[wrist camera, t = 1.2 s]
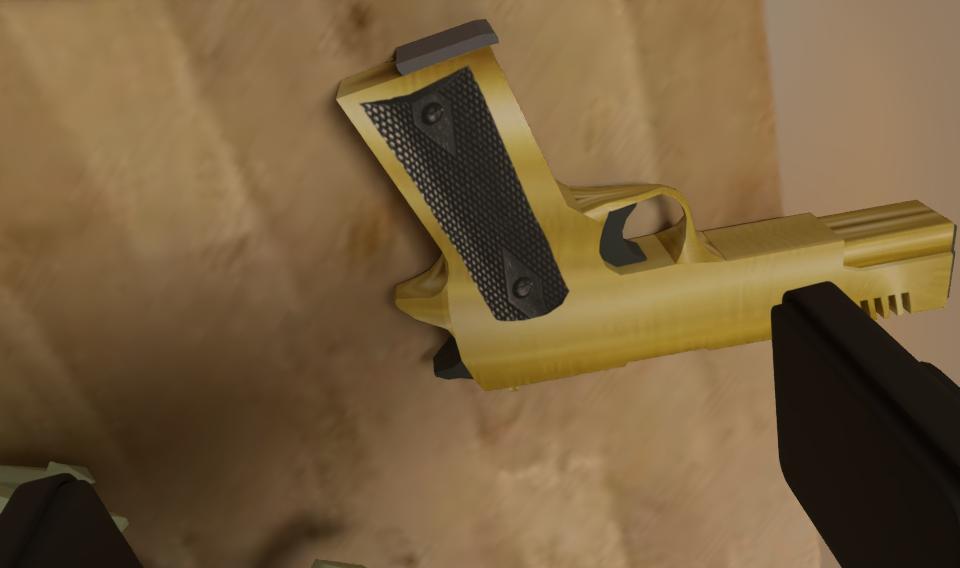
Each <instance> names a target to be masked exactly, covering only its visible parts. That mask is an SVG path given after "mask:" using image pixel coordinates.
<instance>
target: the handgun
mask: <svg viewBox="0 0 960 568" xmlns="http://www.w3.org/2000/svg"><path fill="white" fill-rule="evenodd" d="M496 43H499V41H498V37H497V35H496V34H495V32H494V31H493V29H492V28H491V26H490V24H489V23H488V22H487V20H486V19H484V20H475V21H472V22H469V23H466V24H463V25H460V26H457V27H454V28H451V29H449V30H446V31H443V32H440V33H437V34H434V35H431V36H429V37H426V38H423V39H420V40H417V41H414V42H411V43H408V44H406V45H403V46H400V47H397V48H396V61H393V62H390V63H387V64H385V65H382V66H379V67H376V68H373V69H371V70H368V71H365V72H362V73H359V74H357V75H354V76H351V77H348V78H345V79H343V80H341V84H340V87H339V90H338V94H337V97H336V100H337V101H338V103H339V104H340V106H341V107H342V109H343V110H344V111H345V113H346V114H347V116H348V117H349V119H350V120H351V121H352V123H353V124H354V126H355V127H356V129H357V130H358V131H359V133H360V134H361V136H362V137H363V139H364V140H365V141H366V143H367V144H368V146H369V147H370V149H371V150H372V151H373V153H374V154H375V156H376V157H377V159H378V160H379V161H380V163H381V164H382V166H383V167H384V169H385V170H386V171H387V173H388V174H389V176H390V177H391V179H392V180H393V181H394V183H395V184H396V186H397V187H398V189H399V190H400V192H401V193H402V194H403V196H404V197H405V199H406V200H407V202H408V203H409V204H410V206H411V207H412V209H413V210H414V212H415V213H416V214H417V216H418V217H419V219H420V220H421V222H422V223H423V224H424V226H425V227H426V229H427V230H428V232H429V233H430V234H431V236H432V237H433V239H434V240H435V242H436V243H437V244H438V246H439V247H440V249H441V251H442V252H443V253H442V254H441V256H440V258H439V259H438V260H437V262H436V263H435V264H434V265H433V266H432V267H431V269H430V270H429V271H427V272H425V273H423V274H421V275H420V276H418V277H416V278H413V279H411V280H409V281H406V282H404V283H401V284H399V285H397V286H396V287H395V291H394V299H395V303H396V305H397V307H398V308H399V309H400V310H402V311H403V312H405V313H407V314H408V315H410V316H412V317H413V318H415V319H417V320H419V321H423V322H426V323H429V324H433V325H436V326H439V327H442V328H445V329H447V330H448V331H449V332H450V333H451V334H452V335H451V337H450V338H449V339H448V340H447V341H446V343H445V344H444V345H443V346H442V347H441V349H440V350H439V351H438V353H437V354H436V355H435V356H434V358H433V363H434V374H435V376H436V377H440V378H444V379H448V380H449V379H455V378H466V379H474V380H475V381H476V382H477V383H478V384H479V385H480V386H481V387H482V388H483V389H484V390H485V391H490V390H497V389H504V388H508V389H509V390H510V391H511V392H514V391H518V390H519V388H520V386H521V385H527V384H532V383H538V382H543V381H548V380H554V379H559V378H565V377H570V376H576V375H581V374H586V373H592V372H597V371H603V370H608V369H614V368H619V367H624V366H626V364H627V363H628V362H633V361H638V360H643V359H649V358H654V357H660V356H665V355H671V354H676V353H682V352H687V351H693V350H698V349H709V350H715V349H721V348H726V347H732V346H737V345H743V344H748V343H754V342H759V341H765V340H770V339H772V331H771V309H772V307H773V306H774V305H778V304H782V297H783V294H784V293H785V292H786V291H789V290H793V289H797V288H801V287H805V286H809V285H813V284H817V283H820V282H824V281H831V282H832V283H834V284H835V285H836V286H838V287H839V288H840V289H841V290H842V291H843V292H844V293H845V294H846V295H847V296H848V297H849V298H850V299H852V300H853V301H854V302H855V303H856V304H857V305H858V306H859V307H860V308H861V309H862V310H863V311H865V312H866V313H867V314H868V315H869V316H870V317H871V318H872V319H873V320H877V316H876V312H877V313H879V314H880V315H881V316H882V317H883V318H889V317H890V312H889V309H890V310H892V311H893V312H894V313H895V314H896V315H897V316H901V315H904V314H903V308H904V309H906V310H907V311H908V312H909V313H917V312H923V311H928V310H934V309H939V308H944V306H945V305H946V302H947V299H948V297H949V292H950V286H951V279H952V272H953V264H954V257H955V251H954V245H955V238H956V231H957V226H956V225H955V224H954V223H953V222H952V221H950V220H949V219H947V218H945V217H944V216H942V215H941V214H939V213H937V212H936V211H934V210H932V209H931V208H929V207H927V206H926V205H924V204H923V203H921V202H919V201H918V200H913V201H907V202H902V203H896V204H891V205H885V206H879V207H874V208H868V209H862V210H857V211H851V212H845V213H840V214H834V215H829V216H823V217H815V216H814V215H813V214H811V213H805V214H799V215H793V216H787V217H782V218H776V219H770V220H765V221H759V222H753V223H748V224H742V225H736V226H731V227H725V228H719V229H714V230H708V231H703V232H701V231H695V228H694V225H693V221H692V218H691V211H690V206H689V204H688V202H687V200H686V198H685V197H684V196H683V195H682V194H681V193H680V192H679V191H677V190H676V189H674V188H671V187H668V186H665V185H662V184H648V185H626V186H614V187H602V188H587V187H568V186H566V185H564V184H562V183H560V182H558V181H556V180H555V179H554V177H553V175H552V173H551V171H550V169H549V167H548V165H547V163H546V161H545V159H544V157H543V155H542V153H541V151H540V149H539V147H538V144H537V142H536V140H535V138H534V136H533V134H532V132H531V130H530V128H529V126H528V124H527V122H526V120H525V118H524V116H523V114H522V112H521V109H520V107H519V105H518V103H517V101H516V99H515V97H514V95H513V93H512V91H511V89H510V87H509V85H508V83H507V81H506V79H505V77H504V75H503V72H502V70H501V68H500V66H499V64H498V62H497V60H496V58H495V56H494V54H493V52H492V50H491V48H490V46H489V45H492V44H496ZM661 193H662V194H666V195H669V196H672V197H675V198H676V199H677V200H678V202H679V203H680V204H681V205H682V209H683V212H684V216H683V217H682V218H681V219H680V221H679V222H678V223H677V224H676V225H675V226H674V227H672V228H669V229H667V230H665V231H662V232H659V233H656V234H653V235H648V236H644V237H639V238H634V239H630V240H626V239H623V234H622V230H623V227H624V224H625V221H626V218H627V217H628V216H629V215H630V213H631V212H632V211H633V209H634V208H635V207H636V205H637V202H640V201H643V200H645V199H648V198H651V197H653V196H656V195H659V194H661Z"/></svg>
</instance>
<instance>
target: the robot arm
mask: <svg viewBox="0 0 960 568" xmlns="http://www.w3.org/2000/svg"><path fill="white" fill-rule="evenodd" d="M771 331H772V348H773V365H774V382H775V399H776V415H777V432H778V449H779V461H780V465H781V469H782V472H783V475H784V477H785V480H786V482H787V484H788V485H789V487H790V489H791V490H792V492H793V493H794V495H795V496H796V498H797V499H798V501H799V503H800V504H801V506H802V507H803V509H804V510H805V512H806V513H807V515H808V516H809V518H810V519H811V521H812V523H813V524H814V526H815V527H816V529H817V530H818V532H819V533H820V535H821V536H822V538H823V539H824V541H825V543H826V544H827V546H828V547H829V549H830V550H831V552H832V553H833V555H834V556H835V558H836V560H837V561H838V562H839V564H840V566H841V567H842V568H960V387H958V386H957V385H956V384H955V383H954V382H953V381H952V380H951V379H949V377H947V376H946V375H945V374H944V373H943V372H942V371H941V370H939V369H938V368H937V367H935V366H934V365H932V364H931V363H927V362H922V361H921V362H919V361H917V360H916V359H915V358H914V357H913V356H912V355H911V354H910V353H909V352H908V351H907V350H906V349H904V348H903V347H902V346H901V345H900V344H899V343H898V342H897V341H896V340H895V339H894V338H893V337H892V336H890V335H889V334H888V333H887V332H886V331H885V330H884V329H883V328H882V327H881V326H880V325H878V324H877V323H876V322H875V321H874V320H873V319H872V318H871V317H870V316H869V315H868V314H867V313H866V312H865V311H863V310H862V309H861V308H860V307H859V306H858V305H857V304H856V303H855V302H854V301H853V300H852V299H850V298H849V297H848V296H847V295H846V294H845V293H844V292H843V291H842V290H841V289H840V288H839V287H838V286H836V285H835V284H834V283H832V282H831V281H824V282H820V283H817V284H813V285H809V286H805V287H801V288H797V289H793V290H789V291H786V292H785V293H784V294H783V297H782V304H778V305H774V306H773V307H772V309H771ZM0 568H143V566H142V565H141V563H140V562H139V560H138V558H137V557H136V555H135V554H134V552H133V550H132V549H131V547H130V546H129V544H128V542H127V541H126V539H125V538H124V536H123V535H122V533H121V531H120V530H119V528H118V527H117V525H116V523H115V522H114V520H113V519H112V517H111V515H110V514H109V512H108V511H107V509H106V507H105V506H104V504H103V503H102V501H101V500H100V498H99V496H98V495H97V493H96V492H95V490H94V488H93V487H92V486H91V484H90V483H89V482H87V481H86V480H78V479H77V478H76V477H75V476H73V475H72V474H70V473H61V474H57V475H53V476H49V477H45V478H41V479H37V480H33V481H29V482H25V483H23V484H21V485H19V486H18V487H17V489H16V490H15V491H14V492H13V494H12V496H11V497H10V499H9V501H8V502H7V504H6V506H5V507H4V509H3V511H2V512H1V514H0Z"/></svg>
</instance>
